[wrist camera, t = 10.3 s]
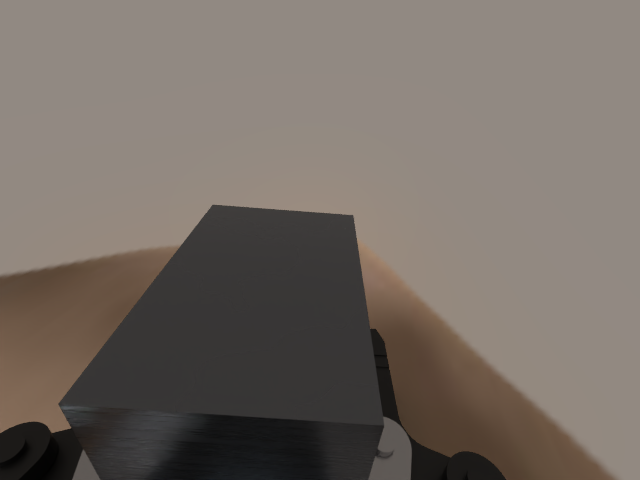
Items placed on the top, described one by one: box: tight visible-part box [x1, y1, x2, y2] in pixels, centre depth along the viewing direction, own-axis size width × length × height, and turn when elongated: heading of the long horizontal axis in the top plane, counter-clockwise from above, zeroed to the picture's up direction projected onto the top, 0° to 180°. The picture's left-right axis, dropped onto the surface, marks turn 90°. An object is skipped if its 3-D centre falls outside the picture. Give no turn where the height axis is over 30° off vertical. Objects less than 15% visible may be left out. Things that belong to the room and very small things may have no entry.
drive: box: [59, 205, 384, 480], centre depth 9 cm, size 4×6×11 cm, turn 179°
